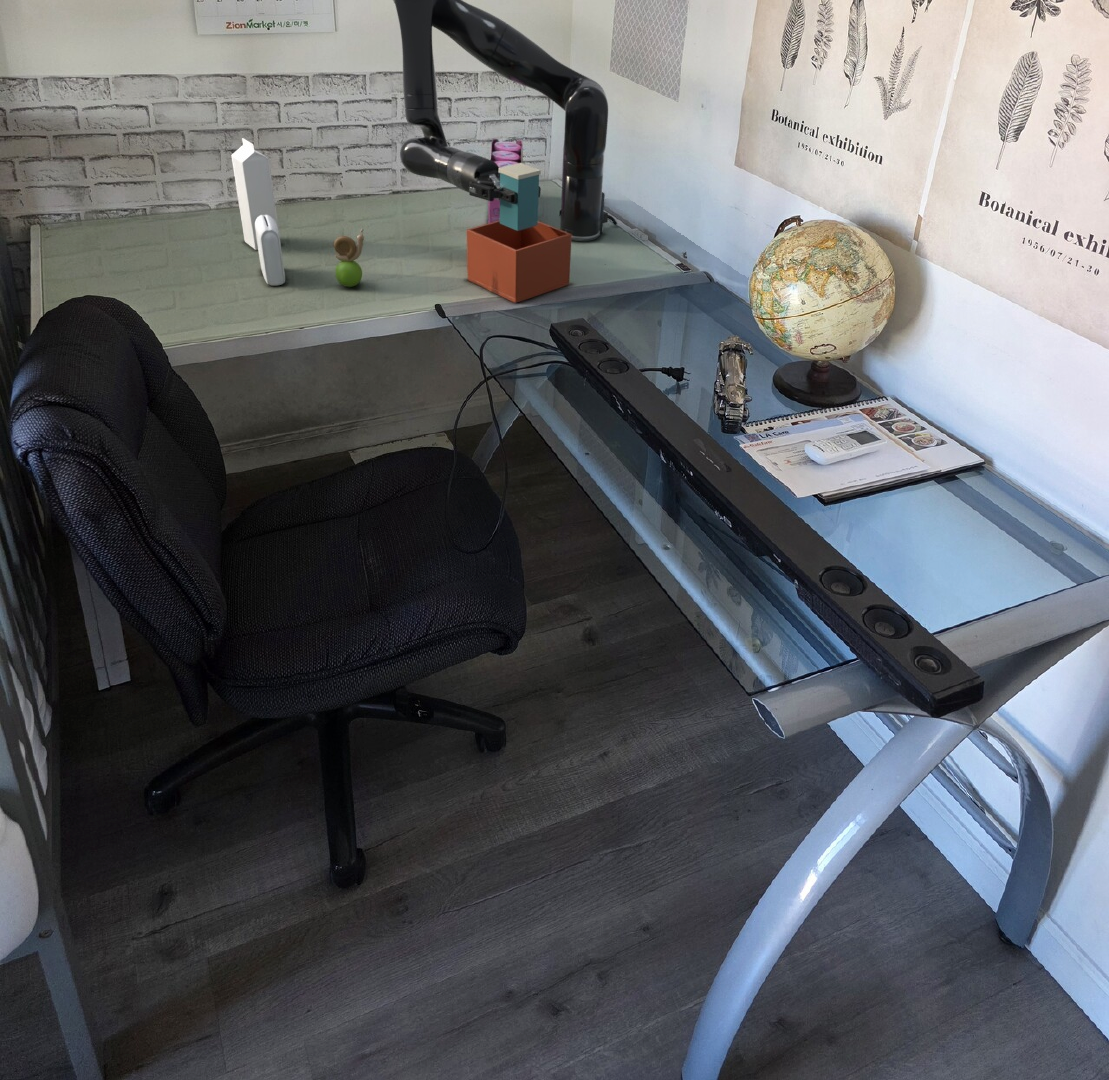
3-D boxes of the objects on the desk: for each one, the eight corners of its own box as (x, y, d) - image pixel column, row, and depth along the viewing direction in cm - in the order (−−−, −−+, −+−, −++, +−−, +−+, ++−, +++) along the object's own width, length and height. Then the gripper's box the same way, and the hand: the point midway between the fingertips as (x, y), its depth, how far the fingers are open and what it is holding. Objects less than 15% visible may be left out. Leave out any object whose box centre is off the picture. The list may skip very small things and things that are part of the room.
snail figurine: (365, 291, 202) (360, 234, 195) (334, 290, 202) (328, 232, 195) (370, 281, 206) (365, 224, 199) (339, 280, 206) (333, 223, 199)
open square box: (521, 263, 217) (521, 214, 211) (569, 284, 209) (571, 234, 202) (467, 280, 209) (466, 229, 202) (515, 303, 200) (516, 251, 194)
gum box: (491, 192, 255) (491, 137, 247) (522, 193, 255) (523, 138, 247) (488, 225, 236) (488, 166, 228) (521, 226, 236) (522, 167, 228)
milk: (255, 250, 218) (239, 147, 204) (244, 242, 222) (227, 139, 208) (281, 245, 221) (267, 142, 207) (270, 236, 225) (255, 135, 211)
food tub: (519, 217, 205) (520, 162, 198) (539, 225, 201) (540, 170, 195) (498, 223, 201) (498, 168, 195) (517, 231, 198) (518, 175, 191)
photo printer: (260, 268, 210) (251, 210, 202) (280, 266, 211) (272, 208, 203) (266, 287, 202) (257, 227, 195) (287, 285, 203) (279, 225, 196)
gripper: (445, 161, 199) (500, 183, 190) (499, 149, 207) (555, 169, 198) (446, 199, 204) (500, 222, 194) (499, 185, 212) (553, 207, 202)
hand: (527, 195), depth 196 cm, fingers closed on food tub, 5 cm apart
